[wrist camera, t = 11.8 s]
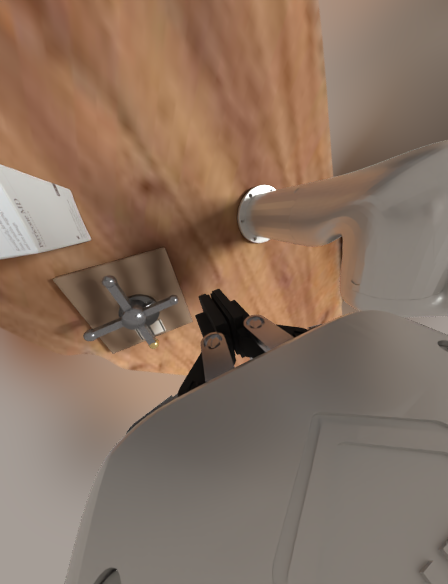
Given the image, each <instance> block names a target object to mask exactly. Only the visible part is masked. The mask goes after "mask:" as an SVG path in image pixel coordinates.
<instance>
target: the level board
mask: <svg viewBox="0 0 448 584" xmlns="http://www.w3.org/2000/svg"><path fill="white" fill-rule="evenodd" d="M106 275H112V276H114V277H115V278H116V279H117V283H118V284H119V286H120V287H121V289H122V290H123V292H124V293H125V294H126V296H127V297H130V296H132V295H137V294H143V295H147V296H150V297H152V298H153V299H155V300H156V301H157V302H158V301H161V300H163V299H165V298H168V297H169V296H171V295H177V296H178V297H179V303H178V304H177V305H172V306H170V307H168V308H166V309H163V310H161V311H160V314H159V317H158V319H157V320H156V322H155V323H153V324H152V325H150V326H148V328H149V329H150V331H151V332H152V334H153V335H154V336H155V337H156V336H158V335H161V334H163V333H166V332H168V331H171V330H173V329H176V328H178V327H181V326H183V325H185V324H188V323H190V322H193V320H192V318H191V315H190V312H189V310H188V307H187V305H186V302H185V299H184V297H183V294H182V291H181V289H180V286H179V284H178V281H177V278H176V276H175V273H174V270H173V268H172V265H171V263H170V260H169V257H168V255H167V252H166V249H165V247H162V248H158V249H155V250H151V251H148V252H144V253H140V254H137V255H133V256H129V257H126V258H122V259H119V260H115V261H111V262H108V263H104V264H101V265H97V266H93V267H90V268H86V269H82V270H79V271H75V272H72V273H68V274H64V275H61V276H57V277H55V278H54V279H53V281H54V282H55V283H56V284H57V286H58V287H59V288H60V289H61V291H62V292H63V293H64V294H65V296H66V297H67V298H68V299H69V300H70V302H71V303H72V304H73V305H74V307H75V308H76V309H77V310H78V312H79V313H80V314H81V315H82V316H83V318H84V319H85V320H86V321H87V323H88V324H89V325H90V326H91V328H92V329H94V328H96V327H99V326H101V325H103V324H106V323H108V322H111V321H113V320H115V319H118V318H119V314H118V312H119V308H120V305H119V304H118V303H117V301H116V300H115V299H114V297H113V296H112V295H111V293H110V292H109V290H108V289H107V288H106V287H104V286H103V285H102V282H101V280H102V278H103V277H104V276H106ZM100 339H101V340H102V341H103V342H104V344H105V345H106V346H107V347H108V349H109V350H110V351H111V352H112V353H113V354H114V353H116V352H119V351H121V350H124V349H126V348H129V347H131V346H133V345H136V344H138V343H141V342H143V341H146V340H145V339H144V337H143V336H142V335H141V333H140V332H139V331H138V329H135V330H131V329H127V328H125V327H122V328H119V329H117V330H115V331H112V332H110V333H108V334H105V335H103V336H101V337H100Z"/></svg>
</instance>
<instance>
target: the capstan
mask: <svg viewBox="0 0 448 584" xmlns="http://www.w3.org/2000/svg"><path fill="white" fill-rule="evenodd" d="M101 282H102V285H103V286H104V287H106V288H107V289H108V290H109V292H110V293H111V295H112V296H113V297H114V299H115V300H116V301H117V303H118V304H119V305H120V308H119V312H118V314H119V318H118V319H115V320H113V321H111V322H108V323H106V324H103V325H101V326H99V327H96V328H94V329H89V330H87V331H86V332H85V333H84V335H83V337H84V339H85V340H86V341H94V340H95V339H97V338H98V337H101V336H103V335H105V334H108V333H110V332H112V331H115V330H117V329H119V328H122V327H125V328H127V329H131V330H135V329H138V331H139V332H140V333H141V335H142V336H143V337H144V339H145V340H146V341H147V343H148V344H149V347H150V348H151V349H155V348H157V347H158V346H159V340H158V339H156V338H155V336H154V335H153V334H152V332H151V331H150V329H149V328H148V326H150V325H152V324H153V323H155V322H156V320H157V319H158V317H159V314H160V311H161V310H163V309H166V308H168V307H170V306H172V305H177V304H178V303H179V297H178V296H177V295H171V296H169V297H168V298H165V299H163V300H161V301H158V302H157V301H156V300H155V299H153V298H152V297H150V296H147V295H143V294H137V295H132V296H130V297H127V296H126V294H125V293H124V292H123V290H122V289H121V287H120V286H119V284H118V283H117V279H116V278H115V277H114V276H112V275H106V276H104V277H103V278H102V280H101Z"/></svg>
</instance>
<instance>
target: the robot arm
mask: <svg viewBox="0 0 448 584" xmlns="http://www.w3.org/2000/svg"><path fill="white" fill-rule="evenodd" d="M237 219H238V225H239V229H240V231H241V233H242V234H243V236H244V237H245V238H246V239H247V240H249V241H251V242H254V243H263V242H266V241H268V240H270V239H273V240H278V241H283V242H288V243H293V244H298V245H304V246H310V247H318V246H323V245H326V244H328V243H330V242H332V241H334V240H336V239H338V238H339V237H341V236H342V237H343V249H342V250H343V256H342V265H341V274H340V293H341V296H342V298H343V299H344V301H345V302H346V303H347V304H348V305H350V306H351V307H353V308H355V309H357V310H360V311H358V312H353V313H349V314H346V315H343V316H340V317H338V318H335V319H333V320H331V321H328V322H326V323H324V324H320V325H316V326H312V327H308V330H307V329H304V328H299V327H291V326H283V325H275V324H274V323H272V322H271V321H269V320H268V319H266V318H265V317H263V316H261V315H251V316H249V314H248V313H247V312H246V311H245V310H244V309H243V308H242V307H241V306H240V305H239V304H238V303H237V302H236V301H235V300H233V301H231V302H230V301H229V299H228V298H227V297H226V296H225V295H224V294H223V293H222V291H221V290H220V289H217V290H214V291H212V293H211V297H210V296H209V295H206V294H203V295H200V296H199V300H200V303H201V306H202V309H203V313H200V314H197V315H195V316H196V319H197V322H198V325H199V327H200V330H201V333H202V335H203V339H202V341H201V351H202V352H201V354H200V356H199V357H198V359H197V361H196V362H195V364H194V365H193V367H192V369H191V370H190V372H189V374H188V375H187V377H186V379H185V380H184V382H183V384H182V385H181V387H180V389H179V391H178V394H176V395H175V396H174V397H173V396H170V397H169V398H167V399H166V400H165V401H163V402H162V403H161V404H159V405H158V406H157V407H155V408H154V409H153V410H151V411H150V412H149V413H147V414H146V415H145V416H143V417H142V418H141V419H139V420H138V421H137V422H135V423H134V424H133V425H132V426H131V427H130V428H129V430H128V431H127V433H126V435H125V436H124V437H123V438H122V439H121V440H120V441H119V442H118V443H117V444H116V446H115V447H114V448H113V449H112V450H111V451H110V453H109V454H108V456H107V457H106V458H105V460H104V461H103V463H102V465H101V467H100V469H99V471H98V473H97V475H96V478H95V480H94V482H93V485H92V488H91V490H90V493H89V496H88V499H87V502H86V506H85V509H84V512H83V515H82V519H81V523H80V526H79V530H78V533H77V537H76V540H75V544H74V548H73V552H72V556H71V560H70V564H69V568H68V572H67V576H66V580H65V583H64V584H448V335H446V334H443V333H441V332H439V331H436V330H434V329H432V328H429V327H427V326H424V325H422V324H419V323H417V322H414V321H412V320H409V319H406V318H404V317H434V316H435V317H436V316H448V140H446V141H442V142H437V143H433V144H430V145H427V146H424V147H421V148H418V149H415V150H412V151H409V152H406V153H404V154H401V155H399V156H396V157H393V158H391V159H388V160H386V161H383V162H380V163H378V164H375V165H372V166H370V167H366V168H364V169H360V170H358V171H354V172H352V173H348V174H345V175H341V176H337V177H333V178H329V179H324V180H320V181H315V182H311V183H306V184H301V185H297V186H292V187H288V188H283V189H278V190H276V189H274V188H273V187H271V186H269V185H259V186H256V187H254V188H252V189H250V190H249V191H248V192H247V193H246V194H245V195H244V197H243V199H242V200H241V202H240V205H239V209H238V217H237ZM241 221H242V222H241ZM253 238H254V239H253ZM211 298H212V299H211ZM234 350H235V352H236V354H237V355H238V354H240V355H241V357H242V358H243V357H245V356H246V357H250V360H249V361H247V362H245V363H243V364H241V365H239V366H237V367H236V368H235V367H234V364H235V362H236V358H235V352H234ZM116 570H117V571H116Z"/></svg>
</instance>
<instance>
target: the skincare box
mask: <svg viewBox="0 0 448 584" xmlns="http://www.w3.org/2000/svg"><path fill="white" fill-rule="evenodd" d="M87 241H91V237H90V235H89V233H88V231H87V229H86V227H85V225H84V223H83V221H82V218H81V216H80V214H79V211H78V209H77V206H76V204H75V201H74V199H73V195H72V193H71V191H70V189H67V188H64V187H61V186H59V185H56V184H53V183H51V182H48V181H45V180H42V179H39V178H36V177H34V176H31V175H28V174H25V173H23V172H20V171H17V170H15V169H12V168H9V167H6V166H3V165H0V259H6V258H12V257H19V256H25V255H31V254H37V253H42V252H46V251H51V250H55V249H59V248H63V247H67V246H71V245H75V244H79V243H83V242H87Z"/></svg>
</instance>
